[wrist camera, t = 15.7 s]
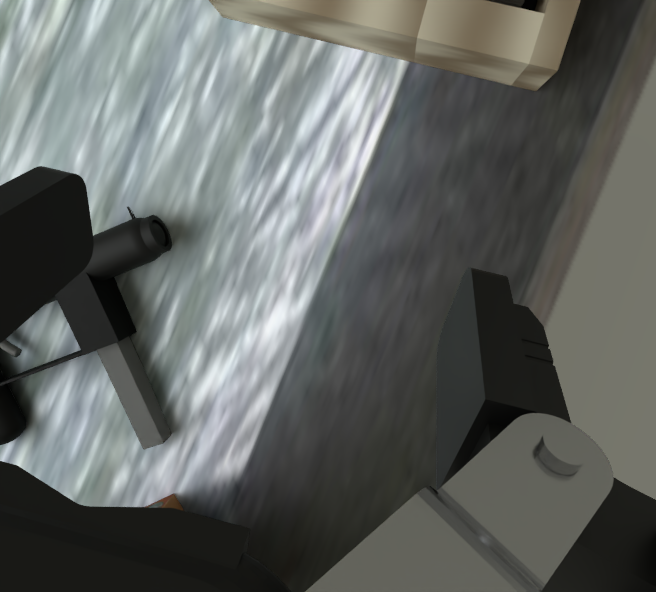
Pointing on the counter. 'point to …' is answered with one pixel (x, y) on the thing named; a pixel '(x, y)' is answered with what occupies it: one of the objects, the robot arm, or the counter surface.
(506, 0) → the square post
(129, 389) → the door handle
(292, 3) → the post base
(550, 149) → the counter surface
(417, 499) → the robot arm
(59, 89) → the counter surface
